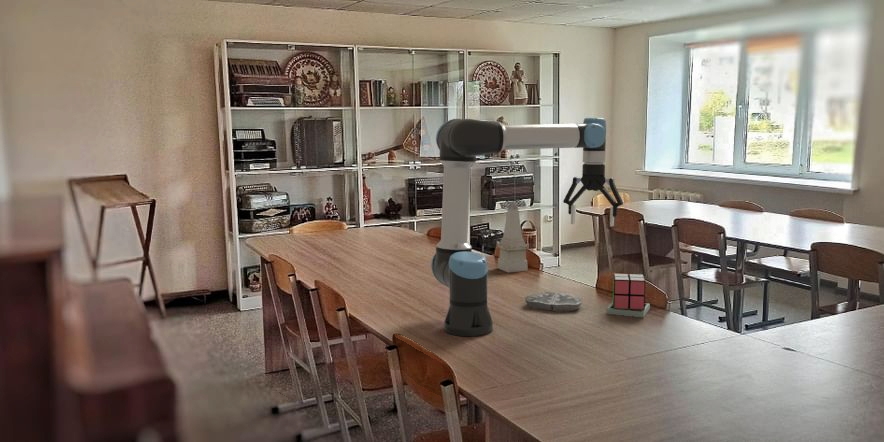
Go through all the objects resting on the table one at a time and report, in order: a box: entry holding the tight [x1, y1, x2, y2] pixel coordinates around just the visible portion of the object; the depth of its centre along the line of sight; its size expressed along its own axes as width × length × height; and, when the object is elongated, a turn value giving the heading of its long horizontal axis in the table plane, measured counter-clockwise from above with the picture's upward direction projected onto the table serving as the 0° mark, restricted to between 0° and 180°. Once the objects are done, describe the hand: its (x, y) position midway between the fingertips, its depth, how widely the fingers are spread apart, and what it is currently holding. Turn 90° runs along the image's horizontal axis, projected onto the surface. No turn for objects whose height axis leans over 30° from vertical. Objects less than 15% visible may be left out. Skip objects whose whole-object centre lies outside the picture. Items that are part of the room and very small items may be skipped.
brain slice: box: [524, 291, 583, 312], centre depth 242 cm, size 20×17×3 cm
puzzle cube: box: [612, 273, 647, 310], centre depth 233 cm, size 10×10×10 cm
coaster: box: [606, 301, 651, 319], centre depth 234 cm, size 12×12×2 cm
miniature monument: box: [496, 201, 530, 273], centre depth 301 cm, size 10×10×30 cm
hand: (592, 224), depth 240 cm, fingers open, 13 cm apart
